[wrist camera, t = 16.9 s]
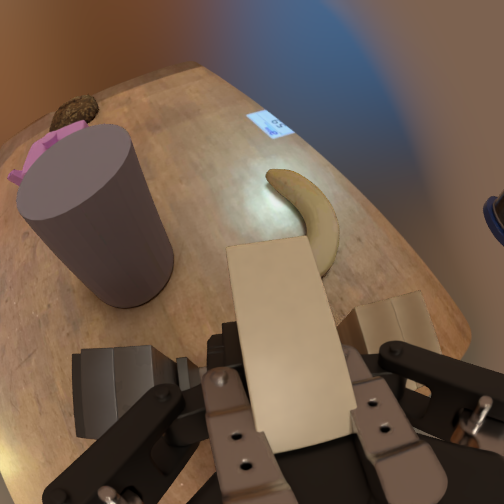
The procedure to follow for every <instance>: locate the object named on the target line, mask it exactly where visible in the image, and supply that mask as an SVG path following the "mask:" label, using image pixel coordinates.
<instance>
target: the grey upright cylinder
mask: <svg viewBox="0 0 504 504" xmlns="http://www.w3.org/2000/svg"><path fill="white" fill-rule="evenodd" d="M16 202H17V208H18V210H19V212H20V214H21V215H22V217H23V218H24V219H25V220H26V222H27V223H28V224H29V225H30V226H31V228H32V229H33V230H34V231H35V232H36V233H37V235H38V236H39V237H40V238H41V239H42V240H43V242H44V243H45V244H46V245H47V246H48V247H49V248H50V249H51V250H52V251H53V253H54V254H55V255H56V256H57V257H58V258H59V259H60V260H61V261H62V262H63V263H64V264H65V265H66V266H67V267H68V268H69V269H70V270H71V271H72V272H73V273H74V274H75V275H76V276H77V277H78V278H79V279H80V280H81V281H82V282H83V283H84V284H85V285H86V286H87V287H88V288H89V289H90V290H91V291H92V292H93V293H94V294H95V295H96V296H98V297H99V298H100V299H101V300H102V301H104V302H105V303H106V304H109V305H111V306H114V307H119V308H128V307H134V306H138V305H141V304H143V303H145V302H147V301H148V300H150V299H151V298H153V297H154V296H155V295H156V294H157V293H158V292H159V291H160V290H161V289H162V288H163V287H164V285H165V284H166V282H167V281H168V279H169V277H170V274H171V272H172V268H173V256H174V255H173V250H172V247H171V244H170V242H169V239H168V237H167V235H166V232H165V230H164V227H163V225H162V222H161V220H160V217H159V215H158V212H157V210H156V207H155V205H154V202H153V199H152V197H151V194H150V191H149V189H148V186H147V183H146V181H145V178H144V175H143V172H142V170H141V167H140V164H139V161H138V158H137V155H136V152H135V150H134V147H133V144H132V141H131V138H130V135H129V133H128V132H127V131H126V130H125V129H124V128H122V127H120V126H118V125H113V124H100V125H94V126H90V127H87V128H83V129H81V130H78V131H76V132H73V133H72V134H70V135H68V136H66V137H64V138H62V139H61V140H59V141H58V142H56V143H55V144H53V145H52V146H51V147H50V148H48V149H47V150H46V151H45V152H44V153H43V154H42V155H41V156H40V157H39V158H38V159H37V160H36V161H35V162H34V163H33V164H32V166H31V167H30V168H29V170H28V171H27V173H26V174H25V176H24V178H23V180H22V182H21V184H20V186H19V189H18V192H17V199H16Z"/></svg>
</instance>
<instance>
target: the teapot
mask: <svg viewBox="0 0 504 504" xmlns="http://www.w3.org/2000/svg"><path fill="white" fill-rule="evenodd" d="M87 127H89V126H88V125H87V123H86V122H85V121H84V120H81V121H78V122H75V123H72V124H70V125H68V126H65V127H63V128H61V129H59V130H56V131H52V132H50V133H48V134H46V135H45V136H44V137H43V138H41V139H39V140H38V141H36V142H35V143H33V144H32V146H31V148H30V151H29V153H28V155H27V158H26V161H25V164H24V166H23V170H22V171H19V170H15V169H14V170H13V171H11V172H10V173H9V175H8V177H7V179H8V180H10V181H11V182H13V183H15V184H17V185H18V186H20V184H21V182H22V180H23V178H24V176H25V174H26V173H27V171H28V170H29V168H30V167H31V166H32V164H33V163H34V162H35V161H36V160H37V159H38V158H39V157H40V156H41V155H42V154H43V153H44V152H45V151H46V150H47V149H48V148H50V147H51V146H52V145H53V144H55V143H56V142H58V141H59V140H61V139H62V138H64V137H66V136H68V135H70V134H72V133H73V132H76V131H78V130H81V129H83V128H87Z"/></svg>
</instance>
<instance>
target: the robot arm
mask: <svg viewBox="0 0 504 504" xmlns="http://www.w3.org/2000/svg"><path fill="white" fill-rule="evenodd" d="M492 211H493V214H494V217H495V219H496V221H497V223H498V224H499V226H500V227H501V229H502V230H503V231H504V190H503V191H502V192H501V194H500V195H499V197H498V198H497V199H496V200H495V201H494V202H493V204H492ZM340 342H341V341H340ZM341 346H342V350H343V353H344V357H345V361H346V364H347V368H348V372H349V376H350V380H351V384H352V388H353V392H354V396H355V400H356V404H357V408H356V409H353V410H350V416H351V424H352V434H350V435H347V436H344V437H341V438H337V439H334V440H331V441H327V442H324V443H320V444H316V445H312V446H308V447H304V448H300V449H296V450H291V451H287V452H282V453H277V454H273V452H272V449H271V447H270V445H269V442H268V440H267V438H266V435H265V433H264V431H262V432H257V431H256V430H255V424H254V419H253V414H252V408H251V403H250V397H249V392H248V386H247V381H246V375H245V369H244V363H243V358H242V352H241V346H240V340H239V334H238V328H237V321H234V322H227V323H222V334H216V335H212V336H211V337H210V339H209V340H208V341H207V371H206V373H204V374H203V376H202V378H201V383H200V384H199V385H197V386H195V387H193V388H190V389H187V390H183V391H181V389H180V387H178V386H177V385H175V384H171V383H164V384H159V385H156V386H154V387H152V388H150V389H149V390H148V391H147V392H146V393H145V394H144V395H143V396H142V397H141V398H140V399H139V400H138V401H137V402H136V403H135V404H134V405H133V406H132V407H131V408H130V409H129V410H128V411H127V412H126V413H125V414H124V415H123V416H122V417H120V418H119V419H118V420H117V421H116V422H115V423H114V424H113V425H112V426H111V427H110V428H109V429H108V430H107V431H106V432H105V433H104V434H103V435H102V436H101V437H100V438H99V439H98V440H97V441H96V442H94V443H93V444H92V445H91V446H90V447H89V448H88V449H87V450H86V451H85V452H84V453H83V454H82V455H81V456H80V457H79V458H78V459H76V460H75V461H74V462H73V463H72V464H71V465H70V466H69V467H68V468H67V469H66V470H65V471H64V472H62V473H61V474H60V475H59V476H58V477H57V478H56V479H55V480H54V481H53V482H51V483H50V484H49V485H48V486H47V487H46V488H45V490H44V492H43V495H42V502H43V504H157V503H158V502H159V501H160V499H161V498H162V497H163V495H164V494H165V493H166V491H167V490H168V488H169V487H170V486H171V484H172V483H173V482H174V480H175V479H176V478H177V476H178V475H179V473H180V472H181V471H182V469H183V468H184V466H185V465H186V464H187V462H188V461H189V459H190V458H191V456H192V455H193V453H194V452H195V451H196V449H197V448H198V446H199V444H200V441H202V440H205V439H208V438H209V439H210V444H211V449H212V453H213V458H214V463H215V467H216V472H215V473H214V474H213V475H212V476H211V477H210V478H209V480H208V481H207V482H206V483H205V484H204V485H203V486H202V487H201V488H200V490H199V491H198V492H197V493H196V494H195V495H194V496H193V497H192V498H191V499H190V500H189V501H188V502H187V503H186V504H504V374H502V373H499V372H495V371H492V370H489V369H485V368H482V367H479V366H476V365H473V364H469V363H466V362H463V361H460V360H457V359H454V358H451V357H448V356H445V355H442V354H439V353H436V352H433V351H430V350H427V349H424V348H421V347H418V346H415V345H412V344H409V343H406V342H403V341H397V340H394V341H388V342H385V343H383V344H382V345H381V346H380V348H379V353H377V354H360V353H359V352H358V350H357V349H356V348H354V347H352V346H350V345H343V344H342V343H341ZM407 379H409V380H412V381H414V382H417V383H419V384H422V385H424V386H427V387H428V388H429V389H430V391H431V398H430V397H427V396H425V395H423V394H420V393H418V392H415V391H413V390H411V389H408V388H406V383H407ZM412 426H413V427H415V428H417V429H419V430H422V431H424V432H426V433H428V434H430V435H433V436H435V437H437V438H440V439H442V440H440V439H436V438H433V437H429V436H426V435H422V434H418V433H416V432H415V430H414V429H413V427H412Z"/></svg>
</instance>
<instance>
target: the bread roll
mask: <svg viewBox="0 0 504 504" xmlns="http://www.w3.org/2000/svg"><path fill="white" fill-rule="evenodd" d="M97 110H98V104H97V102H96V100H95V99H94V97H91V96H90V95H87V96H81V97H75V98H73V99H71V100H70V101H68V102H66V103H64V104H63V105H62V106H61V107H60V108H59V109H58V110H57V111H56V113H55V115H54V117H53V121H52V123H51V127H50V130H49V132H52V131H56V130H59V129H61V128H63V127H65V126H68V125H70V124H72V123H75V122H78V121H81V120H84V121H85V122H86V123H88V122H89V121H91V120H92V119H93V117H94V116H95V114H96V112H97Z"/></svg>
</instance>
